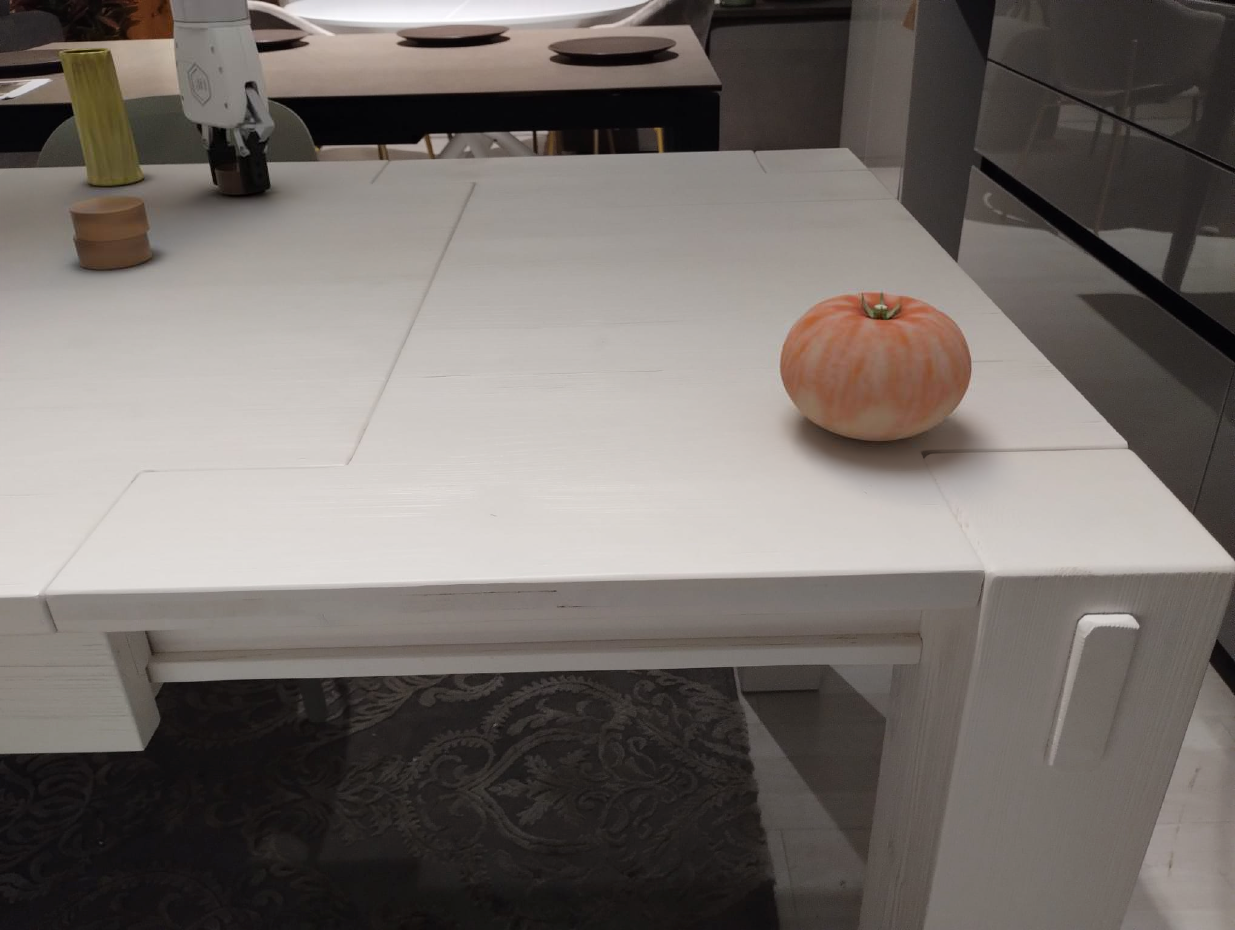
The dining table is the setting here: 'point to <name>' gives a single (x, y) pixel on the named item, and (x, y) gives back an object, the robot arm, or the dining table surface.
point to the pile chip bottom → (113, 252)
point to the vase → (101, 117)
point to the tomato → (875, 366)
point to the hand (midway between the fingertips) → (241, 185)
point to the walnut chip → (229, 179)
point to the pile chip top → (109, 218)
